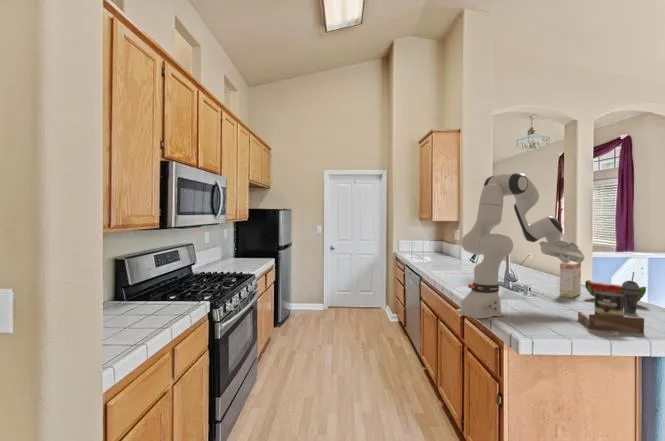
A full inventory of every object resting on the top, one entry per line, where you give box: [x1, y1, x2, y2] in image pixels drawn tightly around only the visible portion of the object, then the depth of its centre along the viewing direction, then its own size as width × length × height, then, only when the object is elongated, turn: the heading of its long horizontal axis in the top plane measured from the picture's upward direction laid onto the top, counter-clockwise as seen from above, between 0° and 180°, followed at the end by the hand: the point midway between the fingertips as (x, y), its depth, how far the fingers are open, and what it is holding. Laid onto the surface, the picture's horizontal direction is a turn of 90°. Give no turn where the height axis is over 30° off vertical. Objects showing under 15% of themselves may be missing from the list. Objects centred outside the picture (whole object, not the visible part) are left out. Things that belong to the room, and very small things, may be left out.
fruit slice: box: [584, 279, 647, 303], centre depth 202 cm, size 26×6×10 cm, turn 45°
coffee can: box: [593, 291, 624, 316], centre depth 160 cm, size 10×10×14 cm
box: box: [577, 311, 645, 334], centre depth 159 cm, size 14×19×6 cm
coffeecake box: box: [559, 260, 582, 298], centre depth 218 cm, size 15×7×20 cm, turn 130°
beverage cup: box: [621, 271, 640, 314], centre depth 181 cm, size 7×7×20 cm
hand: (565, 261), depth 185 cm, fingers closed
